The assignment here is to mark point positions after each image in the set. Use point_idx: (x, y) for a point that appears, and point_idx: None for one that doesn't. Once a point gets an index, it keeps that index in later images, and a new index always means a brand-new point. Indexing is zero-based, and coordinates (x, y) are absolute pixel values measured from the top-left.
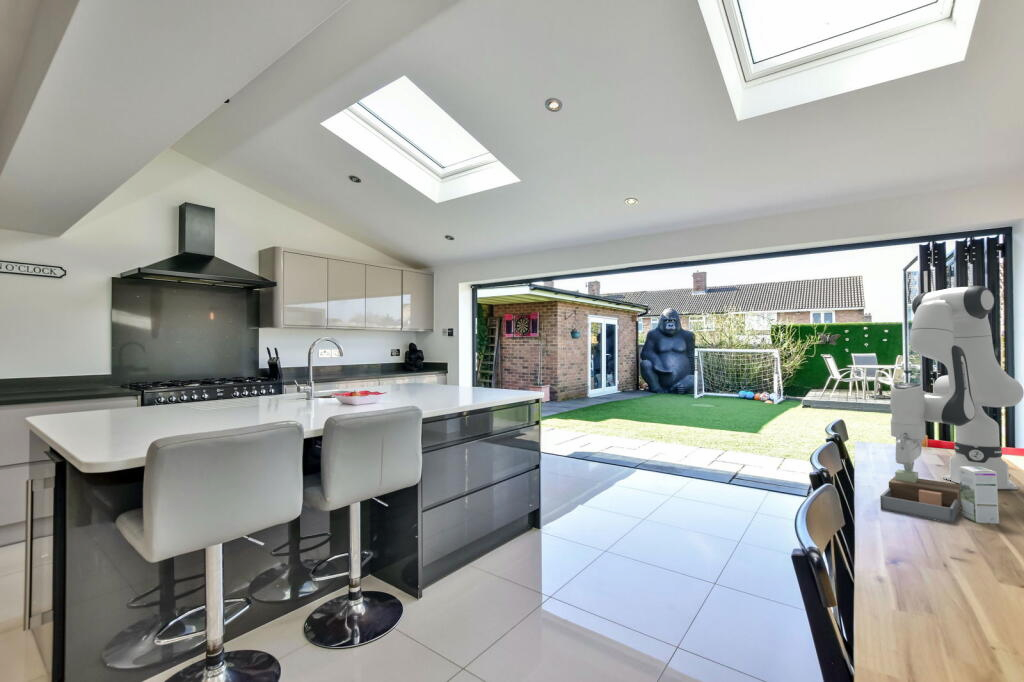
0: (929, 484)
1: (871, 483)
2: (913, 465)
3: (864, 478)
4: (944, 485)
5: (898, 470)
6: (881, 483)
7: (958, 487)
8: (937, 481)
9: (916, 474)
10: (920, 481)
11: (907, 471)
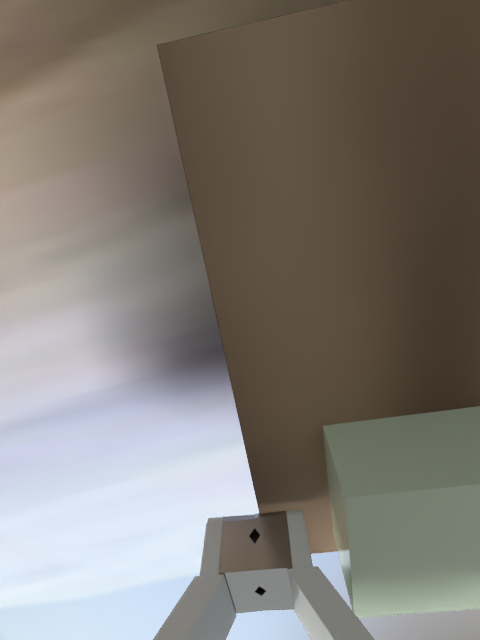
0: (473, 308)
1: (164, 552)
2: (191, 614)
3: (94, 589)
4: (400, 188)
5: (414, 607)
6: (117, 532)
7: (389, 17)
8: (231, 303)
9: (474, 477)
10: (381, 398)
11: (400, 560)
